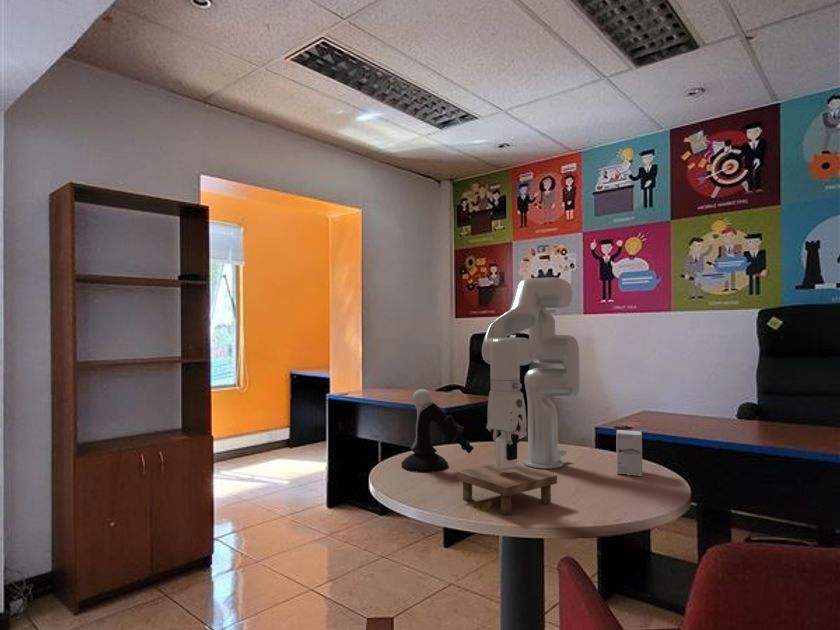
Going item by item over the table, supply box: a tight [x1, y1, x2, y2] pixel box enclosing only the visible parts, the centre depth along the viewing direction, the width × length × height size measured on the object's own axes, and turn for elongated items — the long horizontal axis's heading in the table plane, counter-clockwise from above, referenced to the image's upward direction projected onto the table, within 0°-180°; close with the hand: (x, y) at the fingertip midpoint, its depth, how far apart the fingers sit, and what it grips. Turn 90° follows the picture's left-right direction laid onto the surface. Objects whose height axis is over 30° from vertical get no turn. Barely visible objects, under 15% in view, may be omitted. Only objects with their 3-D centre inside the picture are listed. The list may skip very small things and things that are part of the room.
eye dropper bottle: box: [494, 431, 518, 470], centre depth 133 cm, size 4×6×12 cm
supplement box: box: [615, 429, 643, 476], centre depth 159 cm, size 7×7×13 cm
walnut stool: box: [456, 463, 558, 517], centre depth 132 cm, size 18×18×7 cm
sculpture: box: [401, 388, 475, 473], centre depth 168 cm, size 15×24×25 cm, turn 76°
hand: (506, 457), depth 133 cm, fingers closed on eye dropper bottle, 3 cm apart
